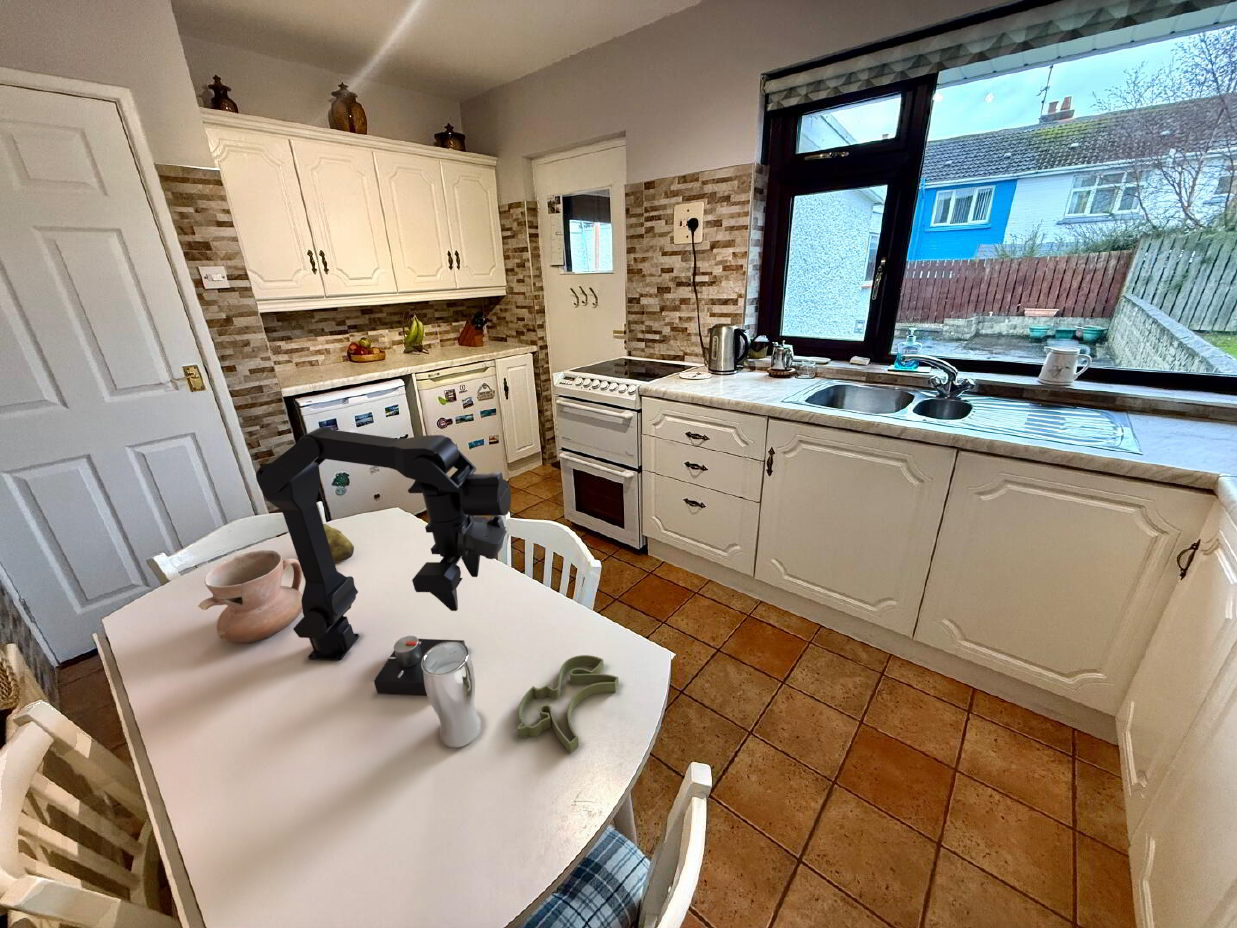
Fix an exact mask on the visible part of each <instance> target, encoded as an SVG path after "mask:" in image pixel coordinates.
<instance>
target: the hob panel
mask: <svg viewBox="0 0 1237 928" xmlns="http://www.w3.org/2000/svg"><path fill="white" fill-rule="evenodd" d="M418 640H419V645H420V649H421V653H422V658H421V660H420V661H419V662H418V663H417V664H415V665H414V666H411V667H407V668H404V667H400V666H399V665H398V662H397V658H396V654H395V651H394V650H393V651H392V653H391V654H390V656H388V657H387V660H386V662H385V663H384V665H383V666H382V667H381V669H380V670H379V672H378V674H377V675H376V676H375V679H374V680H373V683H374V688H375V689H376V690H375V691H376V693H377V695H394V696H395V695H396V696H419V697H427V694H426V690H425V686H424V681H423V673H422V667H421V661H422V659H423V657H424V655H425V654H426V653H427V652H428V651H429V650H430V649H431V648H433V647H434V646H436V645H438V644H441V643H444V642H448V641H457V642H461V643H463V644H464V645H466V643H465V640H464V639H436V638H435V639H434V638H418Z"/></svg>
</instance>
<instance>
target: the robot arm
mask: <svg viewBox="0 0 1237 928" xmlns="http://www.w3.org/2000/svg"><path fill="white" fill-rule="evenodd" d="M326 460H330V461H336V462H343V463H351V464H359V465H365V466H372V467H379V468H386V469H390V470H394V471H396V472H398V473H399V474H401V475H402V476H403V477H404V478H406V479H410V480H412V481H413V480H414V481H413V483H412V485H411V486H410V487H409V488H408V489H407V493H408V494H422V496H423V502H424V505H425V509H426V514H427V517H428V521H429V522H427V525H425V526H424V528H425V532H426V533H427V534H429V533H431V534H432V538H433V542H434V544H433V546H432V547H431V548H430V552H431V555H439V556H440V557H442V558H441V560H440V561H426V562H425V563H424V564H423V565H422V566H421V568H420V569H419V570H418V571H417V573H416V574H415V575H414V577H413V578H412V579H411V582H412V586H413V589H414V591H415V592H416V593H430V594H431V595H432V596H434V597H435V598H436V599H438V601H440V602H441V603H442V604H443V605H444V606H445V607H447V608H448V610H449V611H451V612H457V611H458V610H459V599H458V590H457V588H458V586H459V585H460V583H461V582H462V581H463V577H461V576H462V571H461V567H460V566H459V565H458V563H459V562H460V561H461V560H462V562H463V564H464V566H465V567H466V570H467V571H468V573H469V575H470V576H471V577H472V578H478V576H479V572H480V571H479V569H480V562H481V561H480V560H481V557H484V558H485V559H488V560H494V559H496V558H498V554H499V553H500V552H501V549H502V548H503V545H504V540H505V536H506V534H507V533H508V532H507V529H506V528H507V527H506V526H505V523H504V520H503V517H502V516H507V515H508V514H509V512H510V509H511V504H512V489H511V486H510V485H509V483H508V480H506V479H505V478H503V473H502V472H500V471H499V472H498V471H497V472H490V473H475V472H476V471H477V467H476V465H474V464H473V463H472V462H471V461H470V460H469V459H468V458H467V457H466V456H465V455H464V454H463V452H461V451H460V450H459V448H458V447H457V445H456V443H455V442H453V439H452V438H451V437H449V436H446V435H443V434H433V435H432V434H430V435H429V434H427V435H418V436H417V435H416V436H412V437H406V438H395V437H389V436H381V435H376V434H375V435H373V434H366V433H360V432H351V431H345V430H338V429H333V428H331V427H329V426H328V427H326V426H320V427H318V428H316V429H314V430H312V431H310V432H308V433H306V434H304V435H301V437H300V438H299V440H297V441H296V443H294V444H293V445H292V446H291V447H290V448H288V450H286V451H285V452H283V453H282V454H281V455H279V456H277V457H275V458H273V459H271V460H270V461H267V462H265V463H264V464H262V465H260V466H259V468H258V469H257V471H255V479H256V482H257V485H258V487H259V488H260V490H261V492H262V494H263V496H264V498H265V500H266V501H267V502H269V503H270V504H271V505H273V506H274V507H276V508H277V509H279V510H280V511H281V513H282V515H283V518H284V522H285V525H286V527H287V529H288V533H289V537H290V539H291V542H292V545H293V548H294V551H295V554H296V557H297V560H298V561H299V563H300V566H301V569H302V576H303V578H304V587H303V592H302V599H301V602H302V614H303V617H301V619H300V620H299V621H298V622H297V624H296V625H294V626H293V628H292V629H293V631H294V632H295V634H296V636H298V638H301V639H309V642H310V645H311V647H312V651H311V652H310V653H309V654H308V655H307V658H308V659H309V660H315V661H337V662H339V661H341V660H342V659H344V658H345V656H346V654H348V652H349V651H350V649H351V648H352V647H353V645H354V644H355V643H356V642H357V641H358V639H359V638H360V634H359V633H354V630H353V626H352V624H350V622H349V619H348V616H347V615H346V613H347V612H348V611H349V610H351V608H352V604H354V603H355V601H356V598H357V594H359V590H358V589H357V588H356V585H355V578H354V577H353V576H352V575H351V576H350V575H349V576H346V575H344V574H343V573H341V572H339V571H338V569H337V566H336V562H334V559H333V556H332V553H331V549H330V546H329V543H328V539H327V536H326V533H325V529H324V526H323V524H324V523H323V519H322V517H321V513H320V509H319V506H318V503H317V499H318V496H319V491H320V487H321V482H322V481H321V473H320V471H321V470H320V465H322V464H323V463H324V462H325V461H326ZM453 468H455V469H456V471H455V472H453V474H452V475H450V476H449V475H448V473H449V472H450V471H451V470H452V469H453ZM487 517H490V518H487ZM344 615H345V616H344Z"/></svg>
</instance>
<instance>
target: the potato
mask: <svg viewBox="0 0 1237 928" xmlns="http://www.w3.org/2000/svg"><path fill="white" fill-rule="evenodd" d="M323 526H324V529H325V533H326V536H327V539H328V543H329V546H330V549H331V553H332V556H333V559H334V563H340V562H344V561H347V560H348V559H350V558H351V557H352V556H353V555H354V552H355V546H354V545H353V543H352V542H351V540H350V539H349V538H348V537H347V536H346V535H345V534H343V533H342V531H341V530H339V529H337V528H333V527H331V526H330V525H329V524H326V523H323Z"/></svg>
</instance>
